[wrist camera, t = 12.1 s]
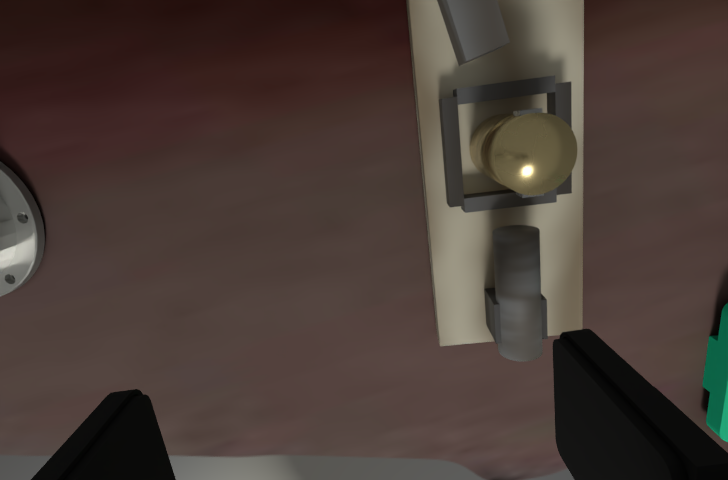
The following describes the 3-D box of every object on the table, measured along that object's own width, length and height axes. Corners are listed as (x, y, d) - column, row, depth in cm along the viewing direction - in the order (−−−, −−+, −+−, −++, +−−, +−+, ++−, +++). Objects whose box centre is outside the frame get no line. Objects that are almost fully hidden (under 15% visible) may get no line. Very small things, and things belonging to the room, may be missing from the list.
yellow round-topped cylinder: (467, 115, 30) (492, 114, 23) (532, 106, 30) (577, 103, 23) (471, 184, 31) (496, 203, 24) (534, 177, 31) (577, 193, 24)
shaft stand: (436, 334, 37) (447, 374, 31) (399, -77, 29) (403, -126, 23) (571, 321, 36) (608, 360, 30) (570, -105, 28) (619, -163, 22)
